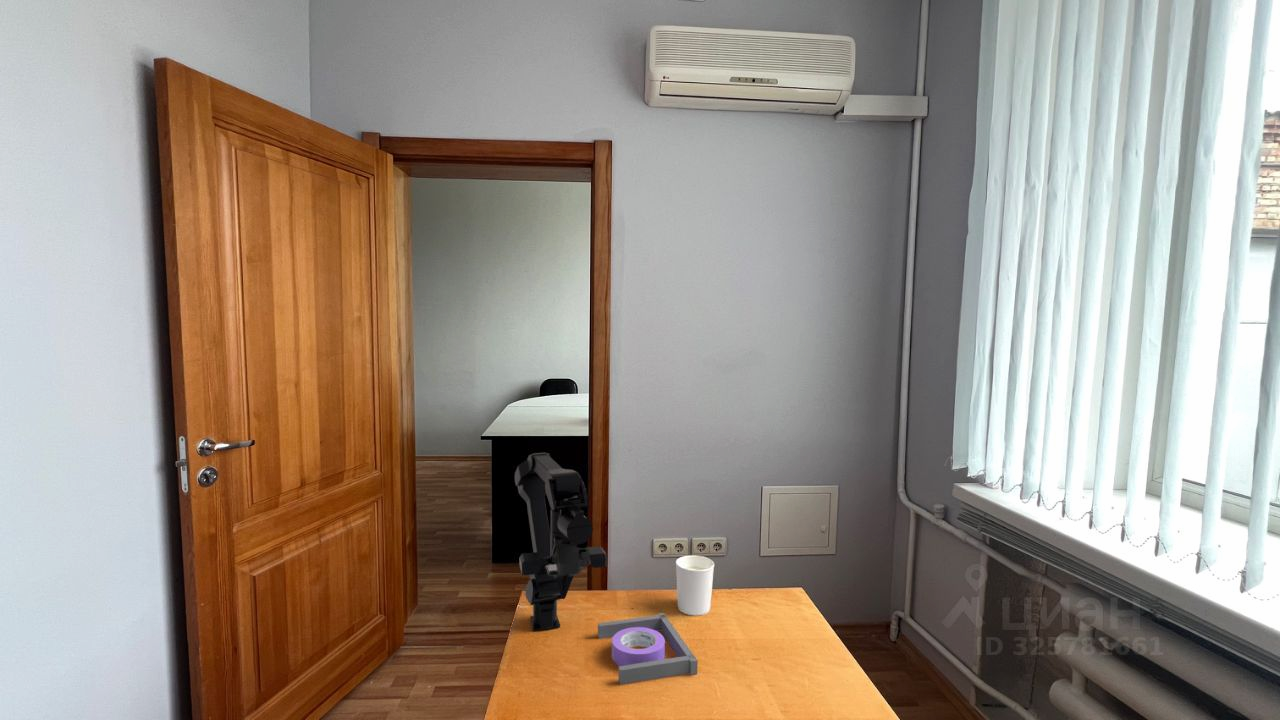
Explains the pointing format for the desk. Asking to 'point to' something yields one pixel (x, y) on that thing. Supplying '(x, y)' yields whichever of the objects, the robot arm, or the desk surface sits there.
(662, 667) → the grey bay
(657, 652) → the masking tape
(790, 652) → the desk surface
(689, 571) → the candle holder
